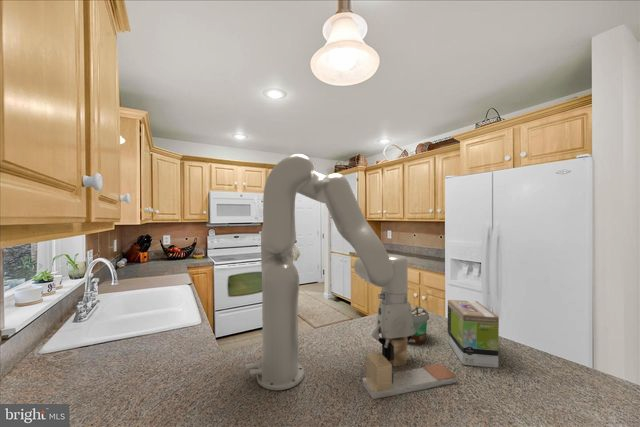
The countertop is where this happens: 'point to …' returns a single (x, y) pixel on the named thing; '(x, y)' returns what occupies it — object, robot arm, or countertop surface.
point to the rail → (401, 377)
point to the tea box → (473, 333)
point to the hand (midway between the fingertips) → (394, 357)
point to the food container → (419, 325)
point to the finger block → (398, 351)
